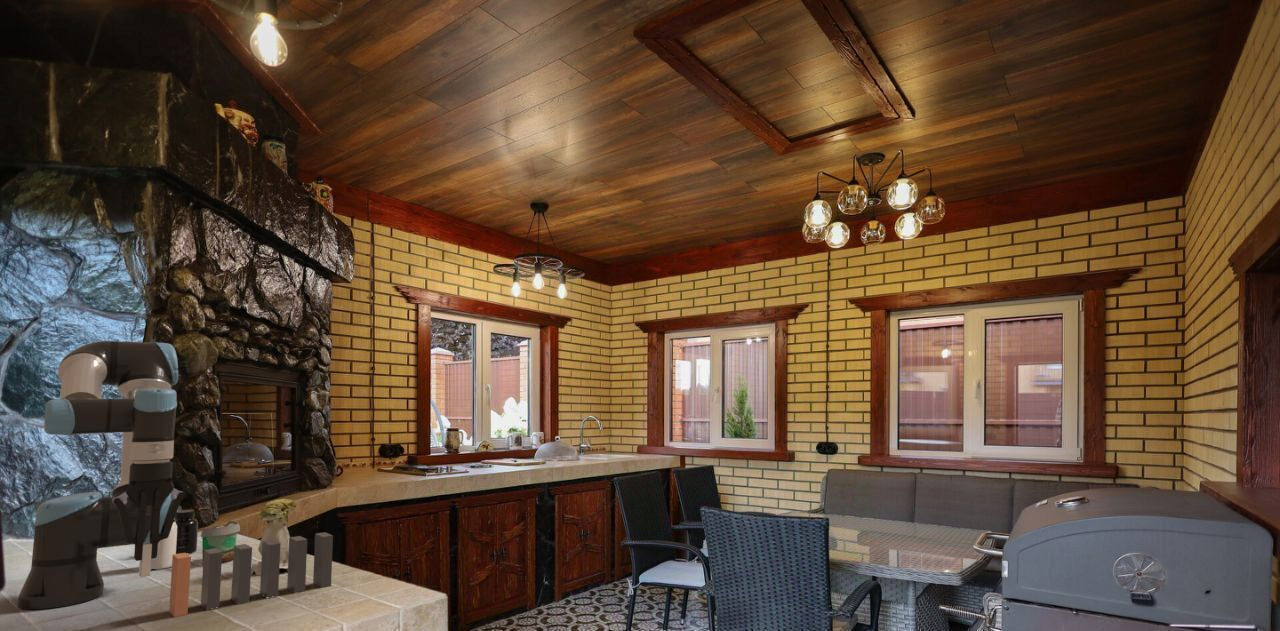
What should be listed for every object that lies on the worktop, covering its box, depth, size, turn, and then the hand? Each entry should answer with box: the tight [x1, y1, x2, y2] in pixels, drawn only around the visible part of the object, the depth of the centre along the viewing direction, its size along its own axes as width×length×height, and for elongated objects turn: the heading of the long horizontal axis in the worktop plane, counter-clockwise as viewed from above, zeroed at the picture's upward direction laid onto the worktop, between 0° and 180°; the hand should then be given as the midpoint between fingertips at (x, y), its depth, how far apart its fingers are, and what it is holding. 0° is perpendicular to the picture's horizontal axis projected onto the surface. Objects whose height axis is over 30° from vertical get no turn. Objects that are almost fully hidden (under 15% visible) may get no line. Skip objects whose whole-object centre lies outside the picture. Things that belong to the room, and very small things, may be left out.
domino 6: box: [312, 532, 334, 589], centre depth 171 cm, size 2×5×12 cm, turn 44°
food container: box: [200, 520, 241, 564], centre depth 194 cm, size 12×6×10 cm, turn 179°
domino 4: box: [259, 540, 281, 598], centre depth 163 cm, size 2×5×12 cm, turn 44°
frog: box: [251, 498, 297, 576], centre depth 186 cm, size 12×13×18 cm
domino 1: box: [168, 553, 192, 618], centre depth 150 cm, size 2×5×12 cm, turn 44°
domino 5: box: [286, 535, 308, 594], centre depth 167 cm, size 2×5×12 cm, turn 44°
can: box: [150, 519, 177, 570], centre depth 188 cm, size 6×6×12 cm
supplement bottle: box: [174, 509, 199, 554], centre depth 204 cm, size 7×7×12 cm
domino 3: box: [230, 543, 253, 605], centre depth 158 cm, size 2×5×12 cm, turn 44°
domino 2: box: [200, 548, 222, 610], centre depth 154 cm, size 2×5×12 cm, turn 44°
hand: (144, 575), depth 146 cm, fingers closed
